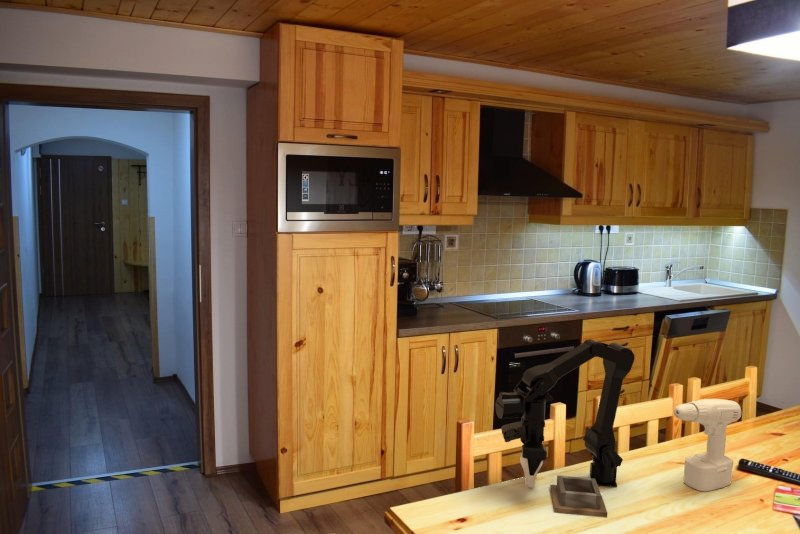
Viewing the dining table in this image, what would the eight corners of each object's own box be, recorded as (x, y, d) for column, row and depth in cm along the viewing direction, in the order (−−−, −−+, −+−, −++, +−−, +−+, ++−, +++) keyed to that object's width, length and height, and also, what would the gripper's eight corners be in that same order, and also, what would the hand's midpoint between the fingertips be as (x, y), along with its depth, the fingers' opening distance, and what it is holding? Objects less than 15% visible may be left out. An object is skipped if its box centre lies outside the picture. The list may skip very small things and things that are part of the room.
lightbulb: (524, 494, 174) (526, 455, 172) (514, 483, 179) (516, 446, 178) (545, 491, 175) (547, 453, 174) (534, 481, 181) (536, 444, 179)
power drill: (657, 486, 180) (664, 400, 177) (715, 471, 191) (723, 390, 188) (682, 500, 173) (690, 410, 169) (742, 483, 183) (750, 399, 180)
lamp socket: (598, 492, 175) (599, 476, 175) (607, 517, 163) (608, 499, 162) (550, 488, 177) (551, 472, 176) (554, 512, 164) (555, 494, 164)
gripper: (503, 402, 185) (500, 454, 187) (504, 426, 166) (501, 483, 169) (542, 405, 183) (539, 457, 185) (548, 429, 165) (545, 487, 167)
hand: (530, 470), depth 177 cm, fingers closed on lightbulb, 6 cm apart
